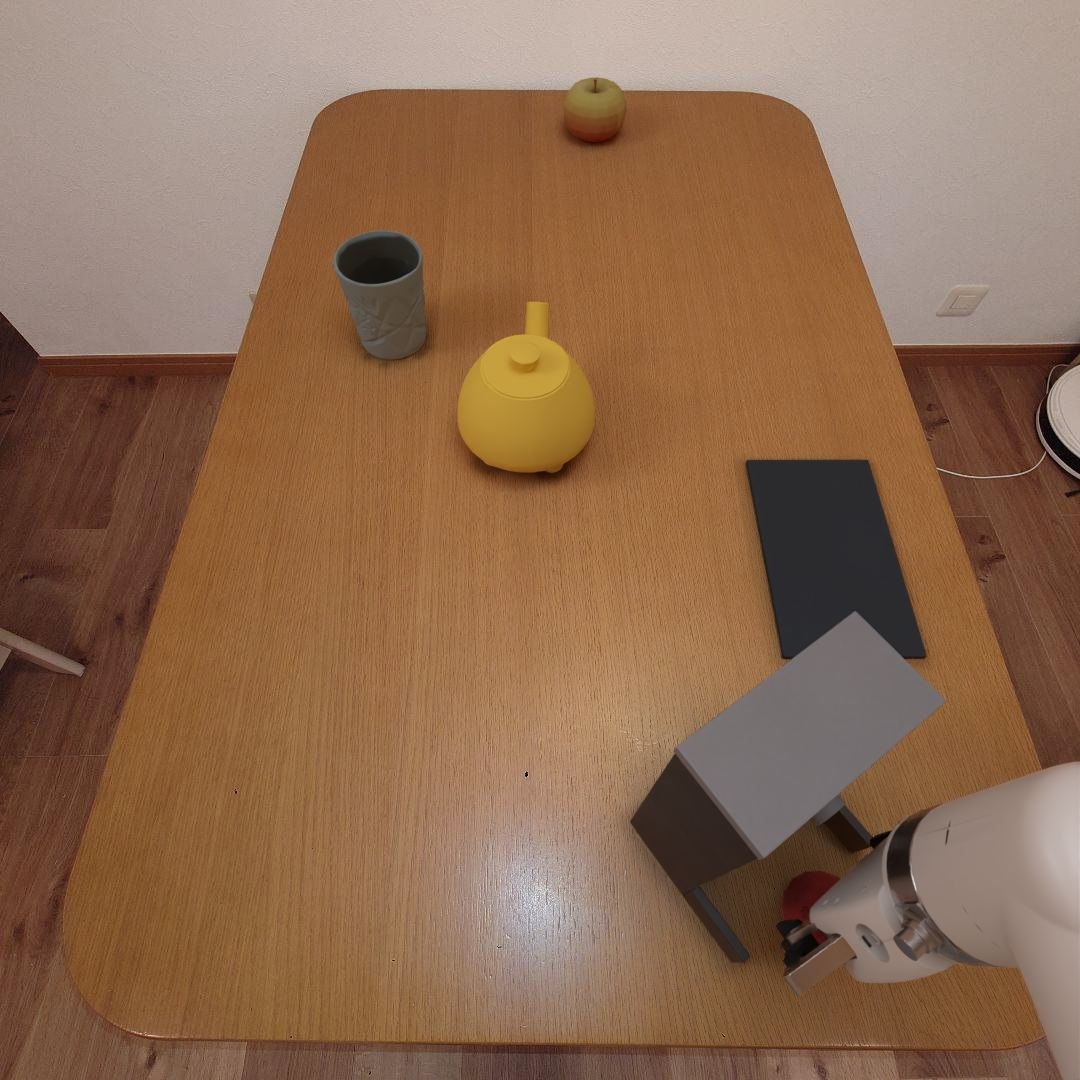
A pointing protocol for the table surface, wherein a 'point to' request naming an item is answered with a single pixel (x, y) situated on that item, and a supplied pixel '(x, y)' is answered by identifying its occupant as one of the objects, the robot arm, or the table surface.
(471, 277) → the table surface
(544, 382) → the teapot
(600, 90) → the apple
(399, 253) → the grey cup
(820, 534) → the mat
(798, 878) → the pomegranate
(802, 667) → the grey legged box
